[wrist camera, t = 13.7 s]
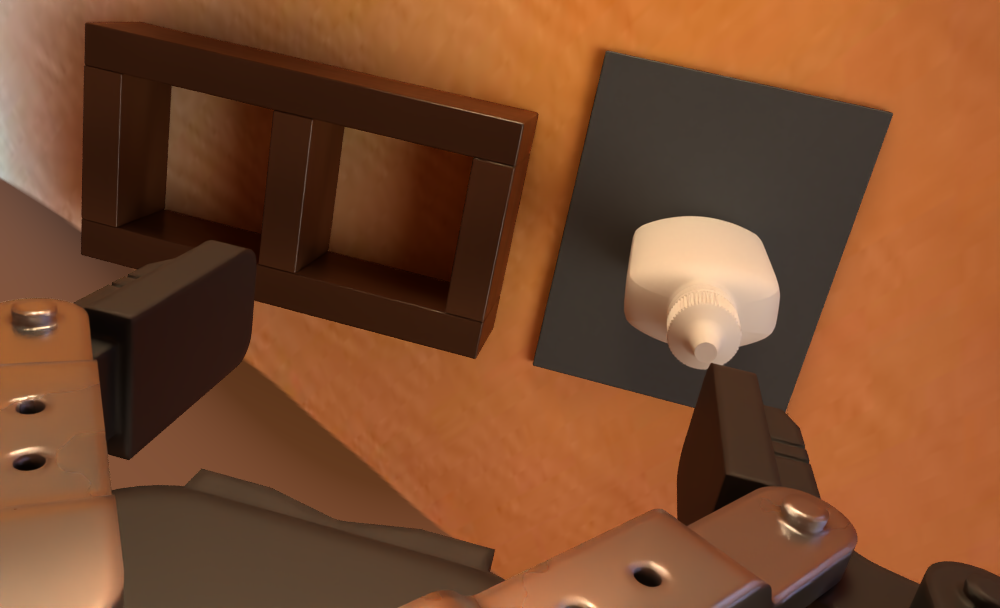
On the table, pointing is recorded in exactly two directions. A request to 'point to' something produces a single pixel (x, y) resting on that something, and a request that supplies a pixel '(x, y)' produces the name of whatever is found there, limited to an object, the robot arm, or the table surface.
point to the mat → (704, 214)
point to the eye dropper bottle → (700, 288)
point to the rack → (297, 178)
